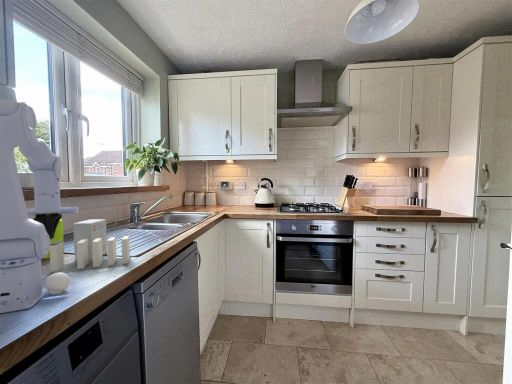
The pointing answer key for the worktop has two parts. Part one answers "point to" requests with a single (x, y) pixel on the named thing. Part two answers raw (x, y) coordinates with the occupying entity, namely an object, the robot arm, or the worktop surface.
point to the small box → (90, 234)
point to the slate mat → (73, 268)
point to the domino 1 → (56, 255)
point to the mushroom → (57, 283)
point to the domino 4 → (111, 250)
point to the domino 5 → (125, 250)
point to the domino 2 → (82, 253)
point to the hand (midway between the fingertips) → (49, 238)
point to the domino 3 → (97, 252)
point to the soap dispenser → (57, 235)
